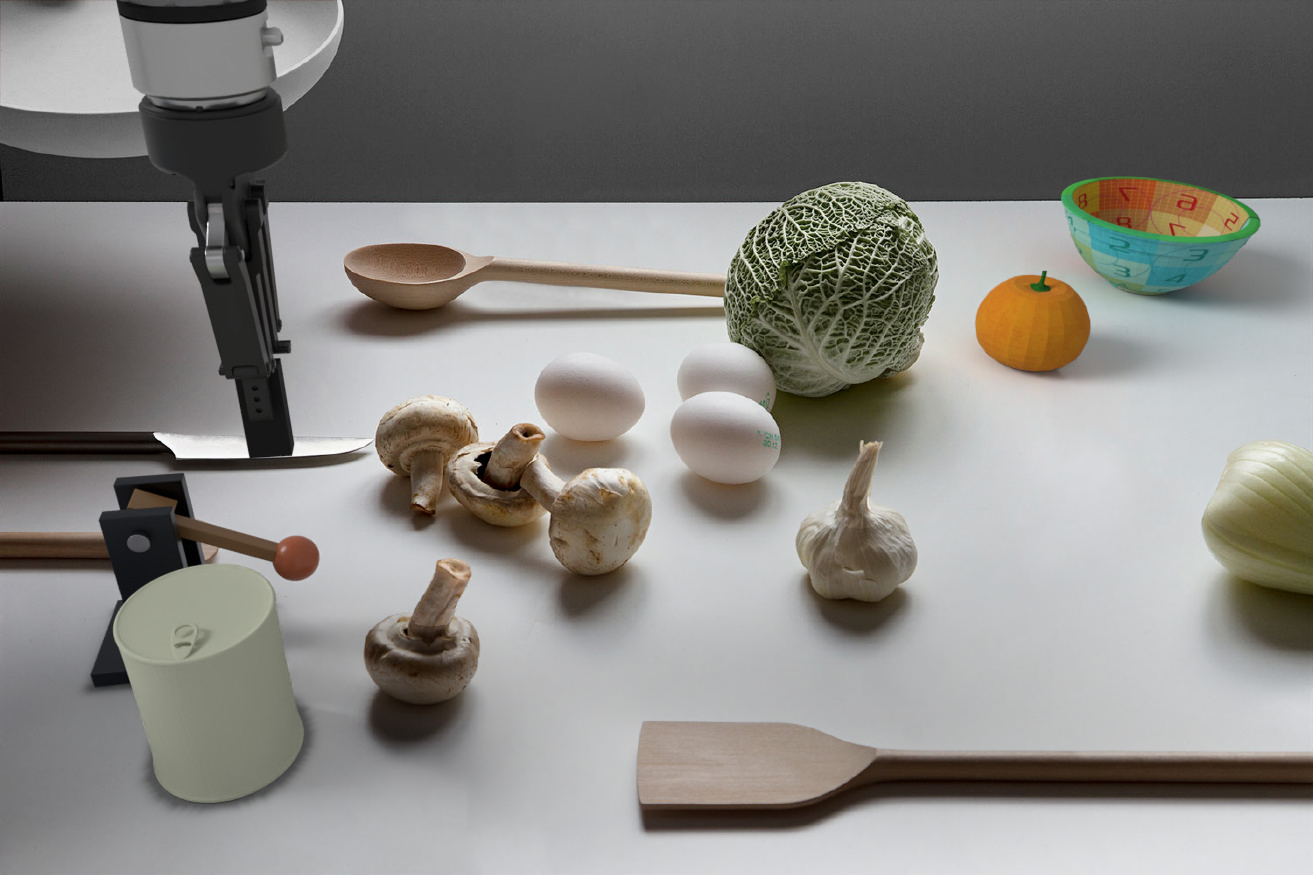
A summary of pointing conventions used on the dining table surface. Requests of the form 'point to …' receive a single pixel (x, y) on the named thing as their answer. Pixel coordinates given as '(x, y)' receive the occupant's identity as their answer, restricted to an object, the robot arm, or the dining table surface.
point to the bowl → (1155, 231)
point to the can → (211, 681)
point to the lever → (241, 540)
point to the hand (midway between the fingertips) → (272, 451)
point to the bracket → (142, 553)
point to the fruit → (1033, 323)
